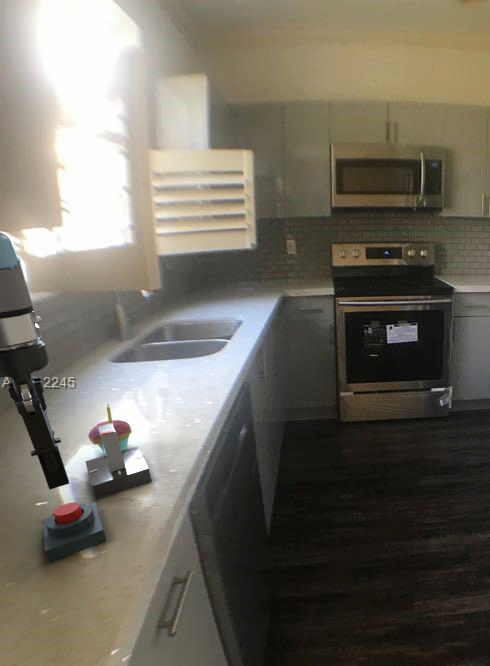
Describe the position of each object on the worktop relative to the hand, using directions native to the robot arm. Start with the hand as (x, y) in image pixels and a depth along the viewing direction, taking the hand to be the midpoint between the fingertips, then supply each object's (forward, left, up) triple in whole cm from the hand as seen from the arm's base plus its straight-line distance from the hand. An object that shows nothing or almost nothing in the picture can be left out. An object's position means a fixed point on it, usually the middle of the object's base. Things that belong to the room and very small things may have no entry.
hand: (59, 484), depth 74 cm
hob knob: (-16, +9, -7) cm, 20 cm away
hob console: (-16, +9, -10) cm, 21 cm away
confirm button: (0, 0, -6) cm, 6 cm away
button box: (0, 0, -10) cm, 10 cm away
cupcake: (-30, +10, -10) cm, 33 cm away
